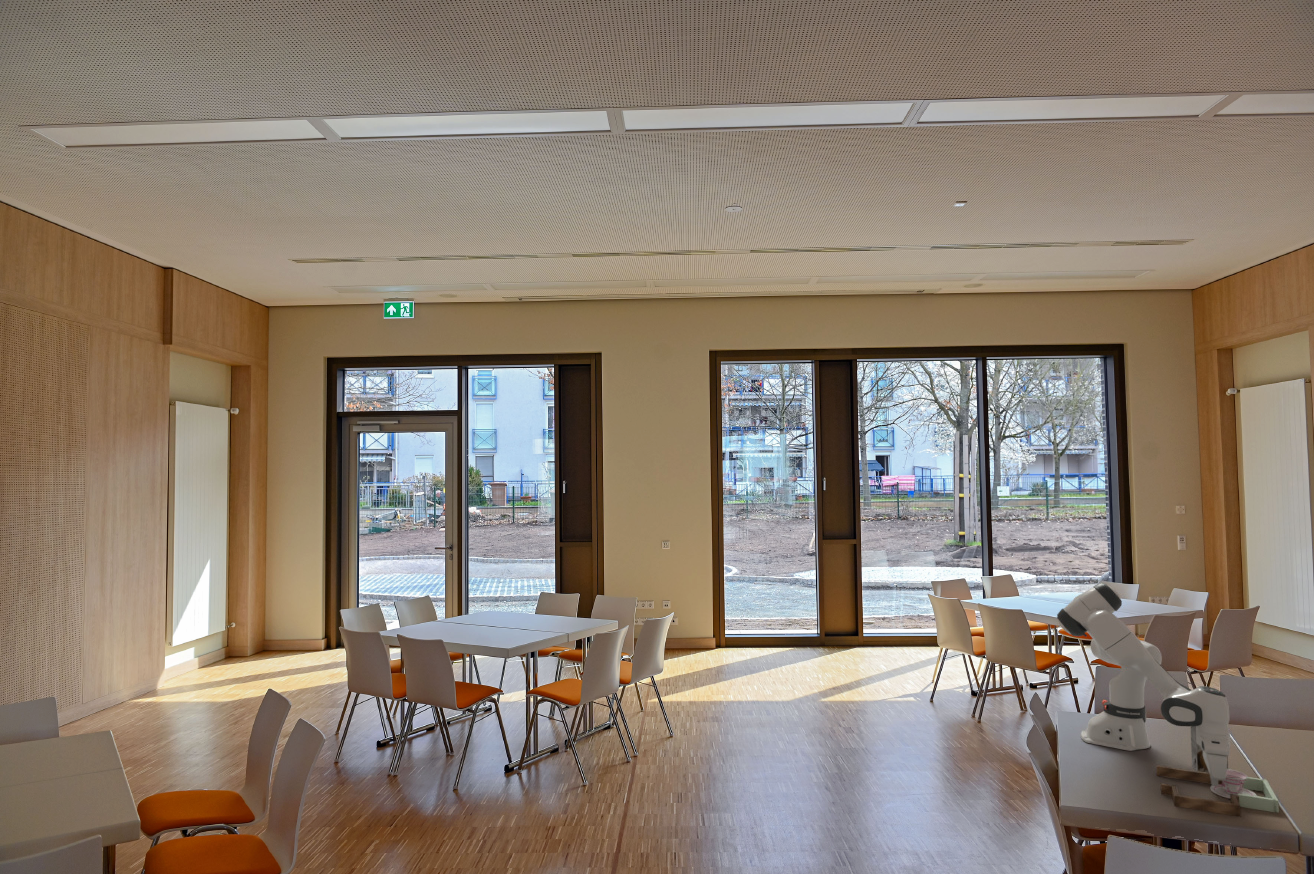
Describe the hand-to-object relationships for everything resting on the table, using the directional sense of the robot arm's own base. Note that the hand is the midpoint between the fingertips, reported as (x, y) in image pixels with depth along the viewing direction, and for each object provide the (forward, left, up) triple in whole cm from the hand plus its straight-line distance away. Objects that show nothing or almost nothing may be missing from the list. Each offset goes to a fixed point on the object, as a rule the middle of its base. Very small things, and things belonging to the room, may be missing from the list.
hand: (1214, 784), depth 251 cm
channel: (-5, -4, -3) cm, 7 cm away
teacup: (+5, +2, -3) cm, 6 cm away
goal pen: (+10, 0, -3) cm, 10 cm away
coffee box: (+1, +20, -3) cm, 20 cm away
